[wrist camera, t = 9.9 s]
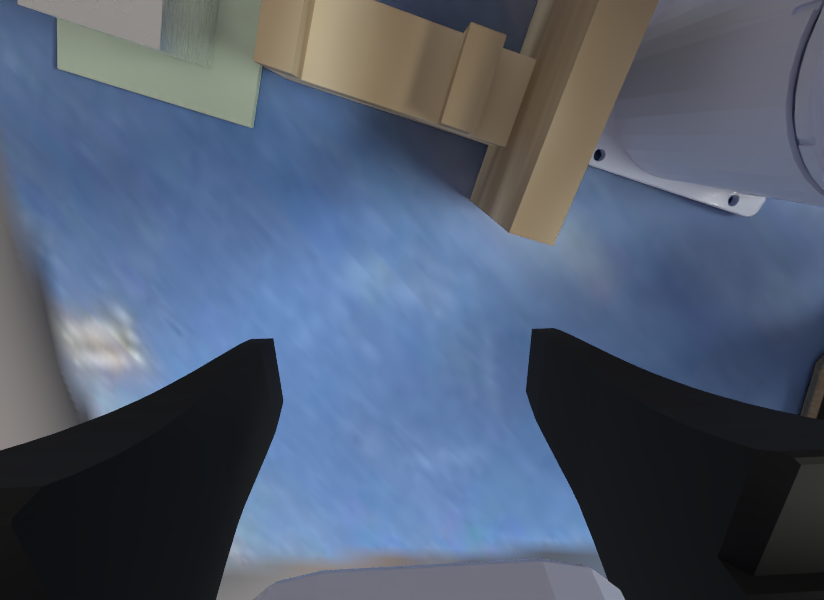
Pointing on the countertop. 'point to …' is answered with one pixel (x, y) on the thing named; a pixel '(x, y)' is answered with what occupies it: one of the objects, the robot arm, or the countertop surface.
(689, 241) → the countertop surface
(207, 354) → the countertop surface
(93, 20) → the rail
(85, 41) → the mat
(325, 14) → the rail stand
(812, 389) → the lantern
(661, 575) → the robot arm
